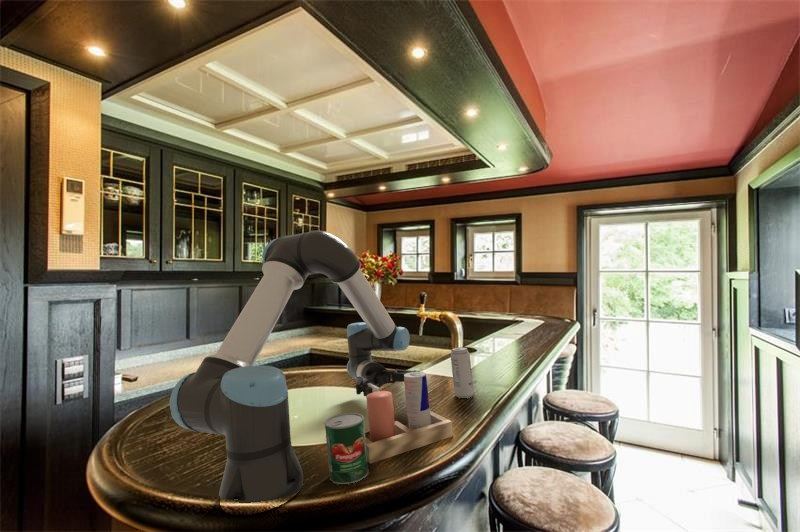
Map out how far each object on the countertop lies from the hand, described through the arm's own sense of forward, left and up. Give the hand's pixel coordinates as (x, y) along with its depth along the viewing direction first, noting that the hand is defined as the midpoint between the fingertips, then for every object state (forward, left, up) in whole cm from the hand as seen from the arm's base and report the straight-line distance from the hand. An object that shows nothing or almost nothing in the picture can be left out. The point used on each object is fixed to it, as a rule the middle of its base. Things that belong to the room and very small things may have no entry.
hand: (401, 387), depth 100 cm
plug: (-10, -9, -10) cm, 17 cm away
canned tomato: (-21, -16, -10) cm, 28 cm away
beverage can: (0, -9, -10) cm, 13 cm away
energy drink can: (+26, +8, -10) cm, 29 cm away
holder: (-5, -9, -10) cm, 14 cm away
